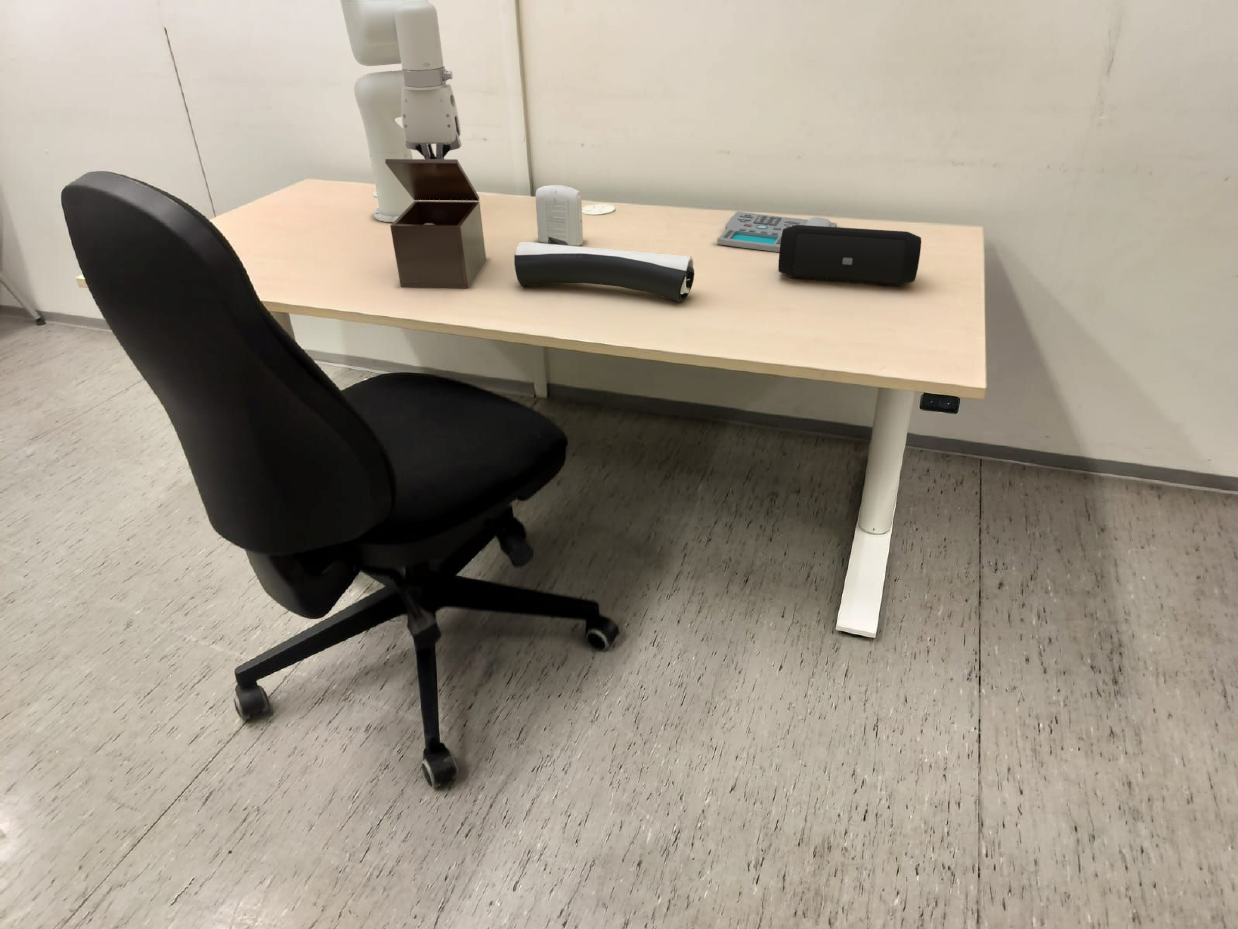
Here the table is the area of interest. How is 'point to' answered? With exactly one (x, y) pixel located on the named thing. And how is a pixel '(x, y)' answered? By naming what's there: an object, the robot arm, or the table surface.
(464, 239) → the chest
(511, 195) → the table surface
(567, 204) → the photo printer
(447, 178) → the lid
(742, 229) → the office telephone
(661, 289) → the curved black white bar
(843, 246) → the portable speaker
